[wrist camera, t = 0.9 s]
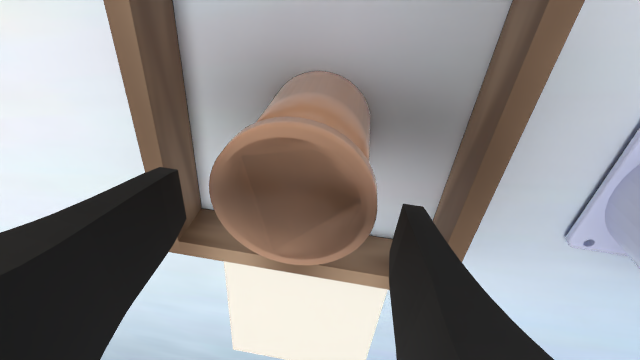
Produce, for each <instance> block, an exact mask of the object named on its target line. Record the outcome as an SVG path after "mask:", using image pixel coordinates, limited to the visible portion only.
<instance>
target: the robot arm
mask: <svg viewBox="0 0 640 360" xmlns="http://www.w3.org/2000/svg"><path fill="white" fill-rule="evenodd" d="M186 219H187V218H186V212H185V206H184V201H183V195H182V189H181V184H180V178H179V173H178V170H177V169H170V168H164V167H158V168H156V169H153V170H151V171H148V172H146V173H144V174H141V175H139V176H137V177H135V178H133V179H130V180H128V181H126V182H124V183H122V184H120V185H118V186H115V187H113V188H111V189H109V190H107V191H105V192H102V193H100V194H98V195H96V196H94V197H92V198H89V199H87V200H84V201H82V202H80V203H77V204H75V205H73V206H70V207H68V208H66V209H63V210H61V211H59V212H56V213H54V214H51V215H49V216H46V217H44V218H41V219H38V220H36V221H33V222H30V223H27V224H24V225H22V226H19V227H16V228H13V229H10V230H7V231H4V232H1V233H0V360H100V359H101V357H102V355H103V353H104V351H105V349H106V347H107V345H108V344H109V342H110V340H111V338H112V337H113V335H114V333H115V331H116V330H117V328H118V326H119V324H120V322H121V321H122V319H123V317H124V316H125V314H126V312H127V311H128V309H129V308H130V306H131V305H132V303H133V302H134V300H135V299H136V297H137V296H138V295H139V293H140V292H141V290H142V289H143V288H144V286H145V285H146V283H147V282H148V280H149V279H150V278H151V276H152V275H153V273H154V272H155V271H156V269H157V268H158V266H159V265H160V263H161V262H162V261H163V259H164V258H165V256H166V255H167V253H168V252H169V250H170V249H171V247H172V246H173V244H174V243H175V241H176V239H177V237H178V235H179V233H180V231H181V229H182V227H183V225H184V223H185V221H186ZM586 240H588V241H586ZM566 241H567V243H568V244H569V245H570V246H571V247H574V248H580V249H586V250H593V251H599V252H605V253H612V254H618V255H625V256H629V257H630V258H631V259H632V261H633V262H634V263H635V264H636V265H637V266H638V268H639V269H640V128H639V130H638V131H637V132H636V134H635V135H634V137H633V138H632V140H631V141H630V143H629V144H628V146H627V147H626V149H625V150H624V152H623V153H622V155H621V156H620V158H619V159H618V160H617V162H616V163H615V165H614V166H613V168H612V169H611V171H610V172H609V174H608V175H607V177H606V178H605V180H604V181H603V183H602V184H601V186H600V187H599V188H598V190H597V191H596V193H595V194H594V196H593V197H592V199H591V200H590V202H589V203H588V205H587V206H586V208H585V209H584V211H583V212H582V214H581V215H580V216H579V218H578V219H577V221H576V222H575V224H574V225H573V227H572V228H571V230H570V231H569V233H568V234H567V236H566ZM389 287H390V297H391V306H392V316H393V325H394V335H395V344H396V356H397V360H554V359H553V358H552V357H550V356H549V355H548V354H547V353H546V352H545V351H544V350H543V349H542V348H541V347H540V346H539V345H537V344H536V343H535V342H534V341H533V340H532V339H531V338H530V337H529V336H528V335H527V334H526V333H525V332H524V331H523V330H522V329H521V328H519V327H518V326H517V325H516V324H515V323H514V322H513V321H512V320H511V319H510V318H509V316H508V315H507V314H506V313H505V312H504V311H503V310H502V309H501V308H500V307H499V306H498V305H497V304H496V303H495V302H494V301H493V300H492V298H491V297H490V296H489V295H488V294H487V293H486V292H485V291H484V289H483V288H482V287H481V286H480V285H479V283H478V282H477V281H476V280H475V279H474V277H473V276H472V275H471V274H470V273H469V271H468V270H467V269H466V268H465V266H464V265H463V264H462V262H461V261H460V260H459V258H458V257H457V255H456V254H455V253H454V251H453V250H452V249H451V247H450V246H449V244H448V243H447V242H446V240H445V239H444V237H443V236H442V234H441V233H440V231H439V230H438V228H437V227H436V225H435V224H434V222H433V221H432V219H431V218H430V216H429V215H428V213H427V212H426V210H425V209H424V207H421V206H414V205H408V204H403V206H402V209H401V213H400V216H399V220H398V223H397V227H396V230H395V234H394V237H393V241H392V244H391V248H390V251H389Z"/></svg>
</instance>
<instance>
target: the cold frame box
mask: <svg viewBox="0 0 640 360" xmlns="http://www.w3.org/2000/svg"><path fill="white" fill-rule="evenodd" d="M584 1H585V0H513V1H512V4H511V7H510V10H509V12H508V15H507V18H506V21H505V23H504V26H503V29H502V32H501V34H500V37H499V40H498V43H497V45H496V48H495V51H494V54H493V56H492V59H491V62H490V65H489V67H488V70H487V73H486V76H485V78H484V81H483V84H482V87H481V89H480V92H479V95H478V98H477V100H476V103H475V106H474V109H473V111H472V114H471V117H470V120H469V122H468V125H467V128H466V131H465V133H464V136H463V139H462V142H461V144H460V147H459V150H458V153H457V155H456V158H455V161H454V164H453V167H452V169H451V172H450V175H449V178H448V180H447V183H446V186H445V189H444V191H443V194H442V197H441V200H440V202H439V205H438V208H437V211H436V213H435V216H434V219H433V222H434V224H435V225H436V227H437V228H438V230H439V231H440V233H441V234H442V236H443V237H444V239H445V240H446V242H447V243H448V244H449V246H450V247H451V249H452V250H453V251H454V253H455V254H456V255H457V257H458V258H459V260H460V261H461V262H462V261H463V259H464V257H465V254H466V252H467V250H468V248H469V246H470V244H471V242H472V240H473V237H474V235H475V233H476V231H477V229H478V227H479V225H480V222H481V220H482V218H483V216H484V214H485V212H486V210H487V208H488V205H489V203H490V201H491V199H492V197H493V195H494V193H495V191H496V188H497V186H498V184H499V182H500V180H501V178H502V176H503V174H504V171H505V169H506V167H507V165H508V163H509V161H510V159H511V156H512V154H513V152H514V150H515V148H516V146H517V144H518V142H519V139H520V137H521V135H522V133H523V131H524V129H525V127H526V125H527V122H528V120H529V118H530V116H531V114H532V112H533V110H534V108H535V105H536V103H537V101H538V99H539V97H540V95H541V93H542V90H543V88H544V86H545V84H546V82H547V80H548V78H549V76H550V73H551V71H552V69H553V67H554V65H555V63H556V61H557V59H558V56H559V54H560V52H561V50H562V48H563V46H564V44H565V42H566V39H567V37H568V35H569V33H570V31H571V29H572V27H573V24H574V22H575V20H576V18H577V16H578V14H579V12H580V10H581V7H582V5H583V3H584ZM104 5H105V9H106V13H107V17H108V21H109V25H110V29H111V33H112V38H113V42H114V46H115V50H116V54H117V58H118V62H119V66H120V70H121V75H122V79H123V83H124V87H125V91H126V95H127V99H128V103H129V108H130V112H131V116H132V120H133V124H134V128H135V132H136V136H137V141H138V145H139V149H140V153H141V157H142V161H143V165H144V169H145V173H146V172H148V171H151V170H153V169H156V168H158V167H164V168H170V169H177V170H178V173H179V178H180V184H181V189H182V195H183V201H184V206H185V212H186V218H187V219H186V221H185V223H184V225H183V227H182V229H181V231H180V233H179V235H178V237H177V239H176V241H175V243H174V244H173V246H172V247H171V249H170V250H169V252H172V253H178V254H184V255H190V256H196V257H201V258H207V259H213V260H219V261H225V262H230V263H236V264H242V265H248V266H254V267H260V268H265V269H271V270H277V271H283V272H289V273H294V274H300V275H306V276H312V277H318V278H324V279H329V280H335V281H341V282H347V283H353V284H359V285H364V286H370V287H376V288H382V289H388V290H390V287H389V251H390V248H391V244H392V241H393V239H387V238H381V237H375V236H368V237H367V239H366V240H365V241H364V242H363V243H362V244H361V245H360V246H359V247H358V248H357V249H356V250H354V251H353V252H352V253H350V254H348V255H347V256H345V257H343V258H341V259H338V260H336V261H332V262H329V263H325V264H319V265H293V264H286V263H282V262H278V261H274V260H271V259H268V258H266V257H263V256H261V255H259V254H257V253H255V252H253V251H251V250H250V249H248V248H247V247H245V246H244V245H242V244H241V243H240V242H239V241H237V240H236V239H235V238H234V237H233V236H232V235H231V234H230V233H229V232H228V231H227V230H226V228H225V227H224V226H223V225H222V223H221V222H220V220H219V219H218V217H217V215H216V213H215V211H214V210H208V209H202V208H201V201H200V194H199V187H198V180H197V173H196V166H195V159H194V151H193V144H192V137H191V130H190V123H189V116H188V109H187V102H186V95H185V88H184V80H183V73H182V66H181V59H180V52H179V45H178V38H177V31H176V24H175V17H174V9H173V2H172V0H104Z"/></svg>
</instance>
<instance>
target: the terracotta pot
mask: <svg viewBox="0 0 640 360" xmlns="http://www.w3.org/2000/svg"><path fill="white" fill-rule="evenodd" d="M370 124H371V121H370V111H369V107H368V104H367V102H366V100H365V98H364V96H363V95H362V93H361V92H360V90H359V89H358V88H357V87H356V86H355V85H354V84H353V83H351V82H350V81H349V80H347V79H346V78H344V77H342V76H340V75H337V74H334V73H331V72H326V71H311V72H306V73H303V74H300V75H298V76H296V77H294V78H292V79H291V80H289V81H288V82H287V83H286V84H285V85H284V86H283V87H282V88H281V89H280V91H279V92H278V93H277V95H276V96H275V97H274V99H273V100H272V101H271V103H270V104H269V105H268V107H267V108H266V109H265V111H264V112H263V114H262V115H261V116H260V118H259V119H258V120H257V122H256V123H254V124H252V125H250V126H248V127H246V128H244V129H243V130H242V131H240V132H239V133H238V134H237V135H236V136H235V137H234V138H233V139H232V140H231V141H230V142H229V143H228V145H227V146H226V147H225V148H224V149H223V151H222V152H221V153H220V155H219V156H218V157H217V159H216V161H215V163H214V165H213V167H212V171H211V174H210V181H209V193H210V198H211V203H212V205H213V208H214V211H215V213H216V215H217V217H218V219H219V220H220V222H221V223H222V225H223V226H224V227H225V228H226V230H227V231H228V232H229V233H230V234H231V235H232V236H233V237H234V238H235V239H236V240H237V241H239V242H240V243H241V244H242V245H244V246H245V247H247V248H248V249H250V250H251V251H253V252H255V253H257V254H259V255H261V256H263V257H266V258H268V259H271V260H274V261H278V262H282V263H286V264H293V265H319V264H325V263H329V262H332V261H336V260H338V259H341V258H343V257H345V256H347V255H348V254H350V253H352V252H353V251H354V250H356V249H357V248H358V247H359V246H360V245H361V244H362V243H363V242H364V241H365V240H366V239H367V237H368V236H369V234H370V232H371V231H372V229H373V226H374V223H375V220H376V215H377V184H376V179H375V175H374V172H373V169H372V167H371V165H370V163H369V154H370Z"/></svg>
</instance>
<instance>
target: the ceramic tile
mask: <svg viewBox="0 0 640 360" xmlns="http://www.w3.org/2000/svg"><path fill="white" fill-rule="evenodd" d="M224 268H225V277H226V287H227V296H228V306H229V315H230V325H231V334H232V344H233V350H238V351H243V352H249V353H254V354H259V355H264V356H270V357H275V358H280V359H286V360H366V358H367V355H368V351H369V348H370V345H371V342H372V339H373V335H374V332H375V329H376V326H377V323H378V319H379V316H380V313H381V310H382V307H383V303H384V300H385V297H386V294H387V290H388V289H382V288H376V287H370V286H364V285H359V284H353V283H347V282H341V281H335V280H329V279H324V278H318V277H312V276H306V275H300V274H294V273H289V272H283V271H277V270H271V269H265V268H260V267H254V266H248V265H242V264H236V263H230V262H225V261H224Z"/></svg>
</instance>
